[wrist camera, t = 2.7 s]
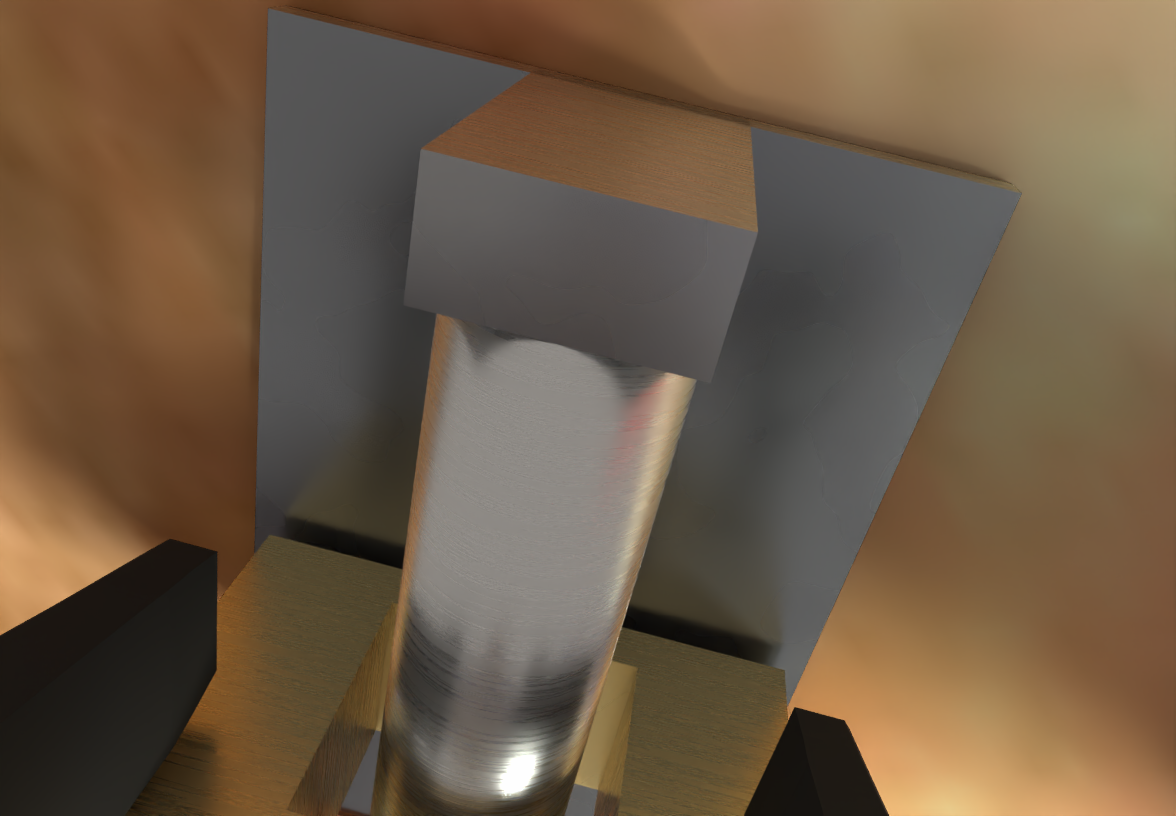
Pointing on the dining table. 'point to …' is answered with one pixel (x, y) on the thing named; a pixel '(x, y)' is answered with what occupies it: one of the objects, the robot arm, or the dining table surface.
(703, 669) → the yellow block with hole
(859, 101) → the dining table surface
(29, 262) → the dining table surface
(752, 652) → the pipe stand
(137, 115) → the dining table surface
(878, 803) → the robot arm
